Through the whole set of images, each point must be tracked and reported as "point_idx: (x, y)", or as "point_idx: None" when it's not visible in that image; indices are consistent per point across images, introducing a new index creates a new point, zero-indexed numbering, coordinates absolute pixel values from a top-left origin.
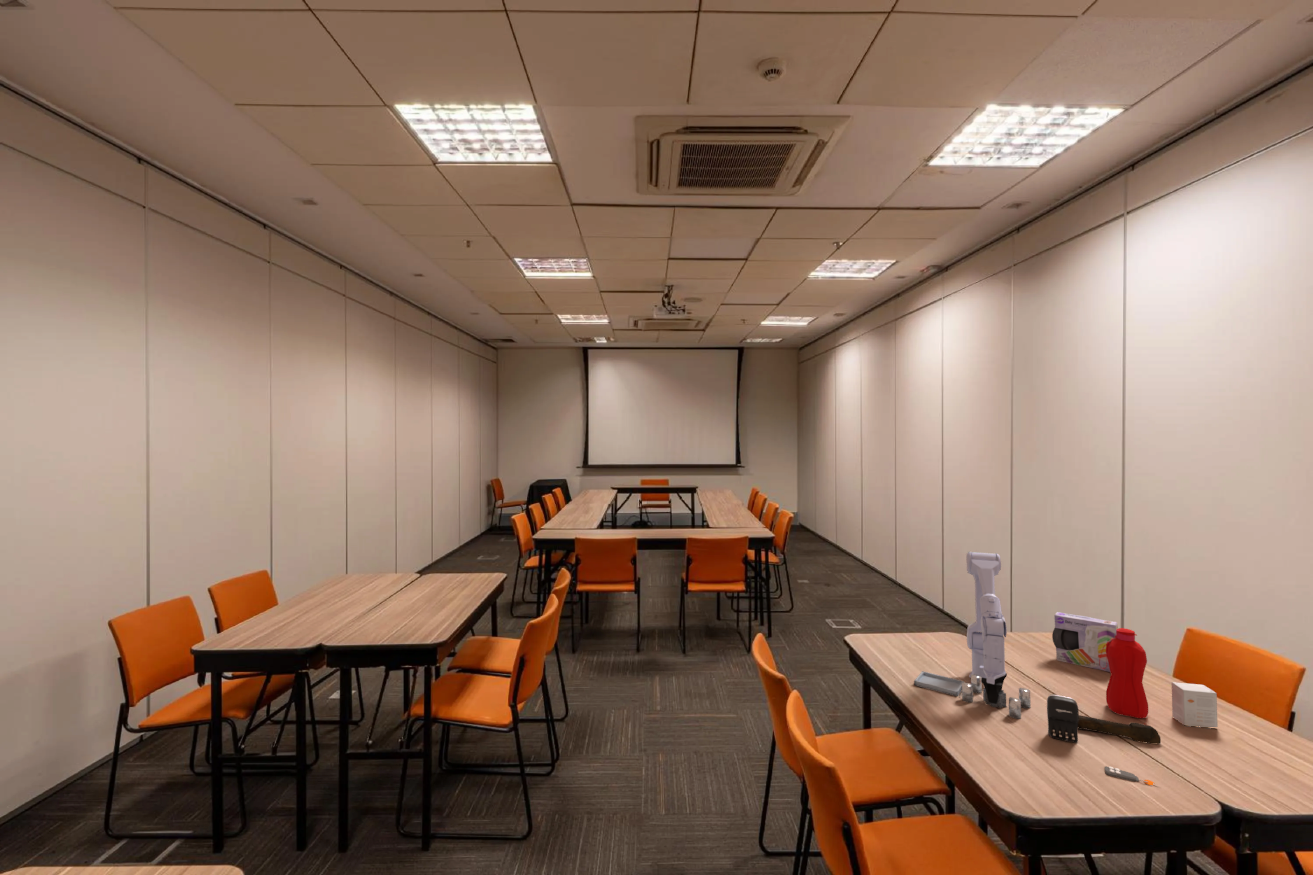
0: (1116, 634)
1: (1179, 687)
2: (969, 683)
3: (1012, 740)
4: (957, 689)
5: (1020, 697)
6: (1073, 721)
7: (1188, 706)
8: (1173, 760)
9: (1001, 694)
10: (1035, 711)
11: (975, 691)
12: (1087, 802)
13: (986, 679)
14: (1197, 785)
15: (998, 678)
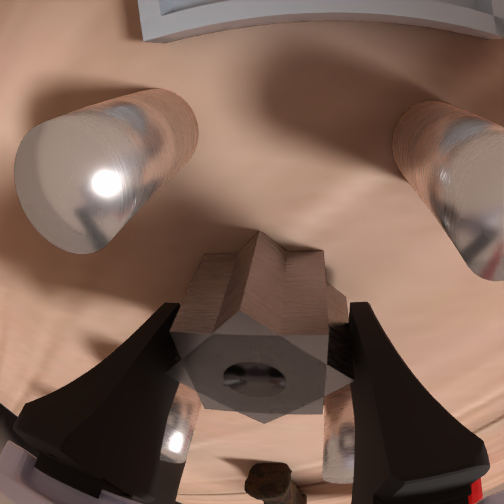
0: None
1: None
2: (123, 196)
3: (20, 353)
4: (211, 7)
5: (331, 431)
6: None
7: None
8: (246, 501)
9: (219, 408)
10: (312, 419)
11: (397, 146)
12: (9, 404)
13: (65, 460)
14: (186, 495)
15: (361, 472)
